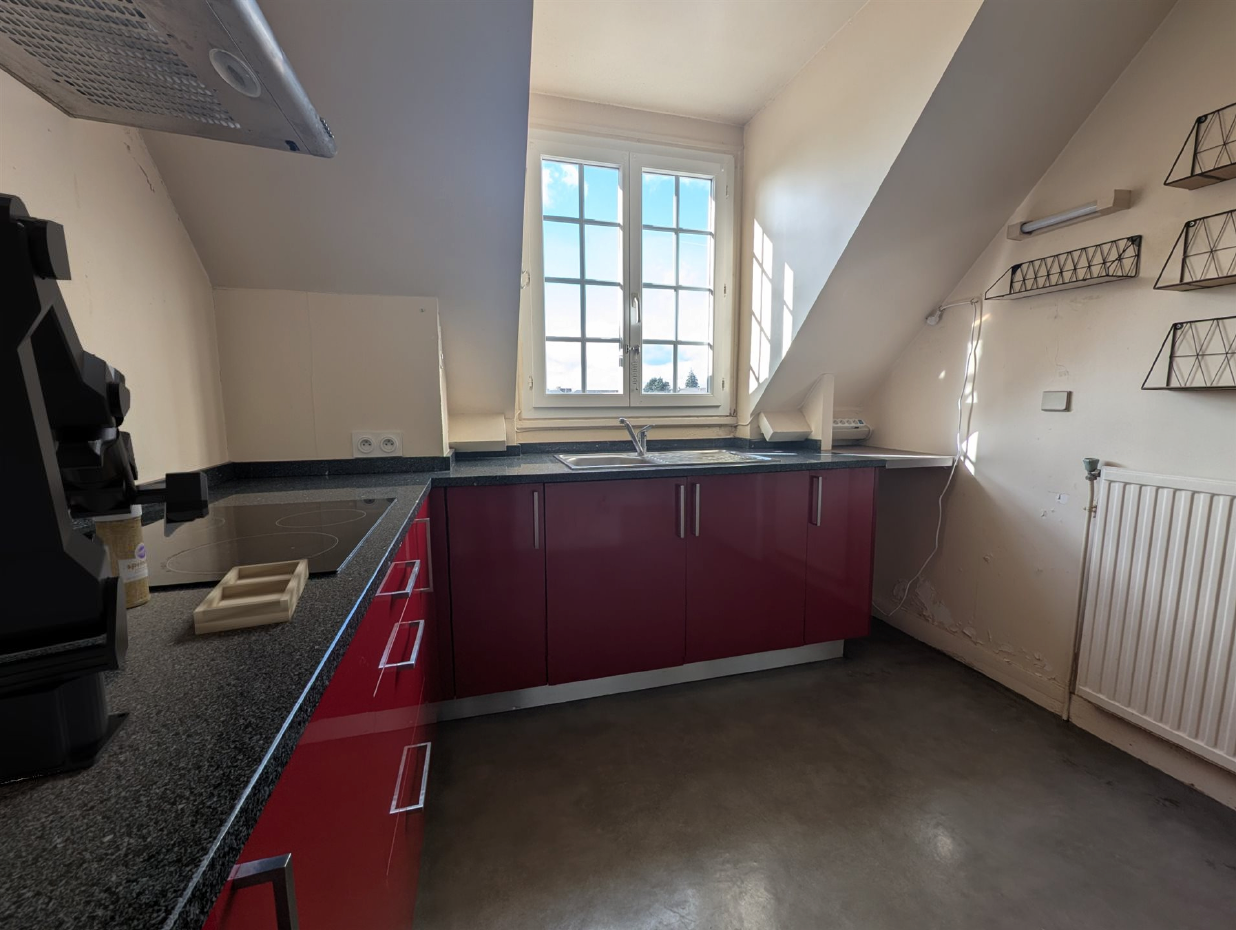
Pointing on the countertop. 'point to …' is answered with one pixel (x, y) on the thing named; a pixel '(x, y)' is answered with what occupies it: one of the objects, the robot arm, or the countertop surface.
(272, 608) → the caddy
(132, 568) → the sprinkles bottle
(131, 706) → the countertop surface
